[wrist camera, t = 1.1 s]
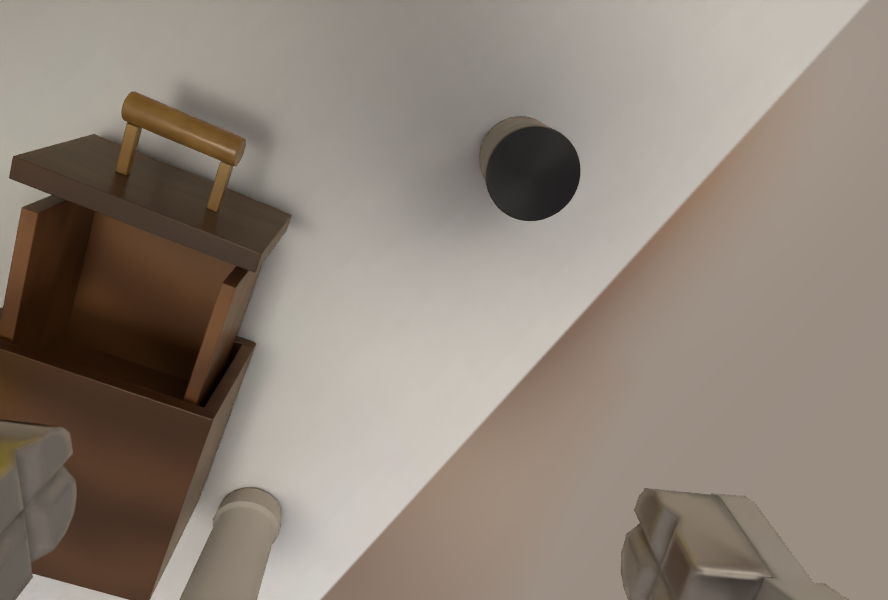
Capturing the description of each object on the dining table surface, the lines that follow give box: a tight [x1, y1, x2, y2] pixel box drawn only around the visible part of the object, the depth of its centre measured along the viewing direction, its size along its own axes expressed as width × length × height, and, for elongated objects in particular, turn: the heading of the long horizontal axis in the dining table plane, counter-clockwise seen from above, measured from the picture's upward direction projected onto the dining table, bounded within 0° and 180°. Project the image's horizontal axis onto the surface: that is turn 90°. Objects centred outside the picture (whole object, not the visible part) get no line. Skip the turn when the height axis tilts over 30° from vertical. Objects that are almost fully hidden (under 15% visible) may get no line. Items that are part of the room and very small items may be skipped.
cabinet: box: [0, 307, 256, 600], centre depth 40 cm, size 16×14×10 cm
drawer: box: [0, 92, 292, 408], centre depth 35 cm, size 19×12×8 cm, turn 156°
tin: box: [479, 116, 580, 221], centre depth 36 cm, size 5×5×6 cm
